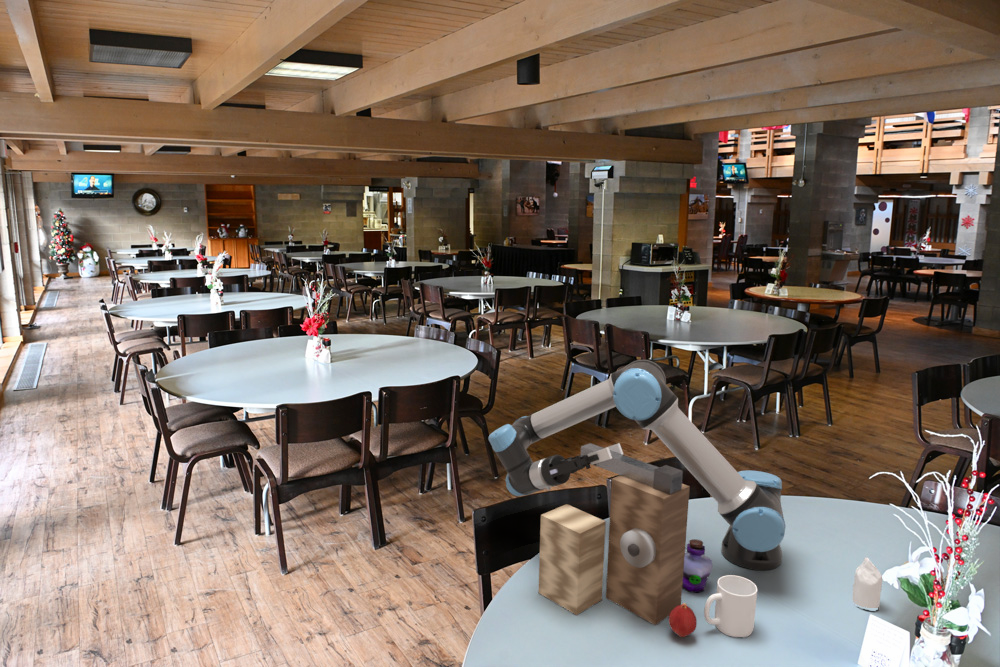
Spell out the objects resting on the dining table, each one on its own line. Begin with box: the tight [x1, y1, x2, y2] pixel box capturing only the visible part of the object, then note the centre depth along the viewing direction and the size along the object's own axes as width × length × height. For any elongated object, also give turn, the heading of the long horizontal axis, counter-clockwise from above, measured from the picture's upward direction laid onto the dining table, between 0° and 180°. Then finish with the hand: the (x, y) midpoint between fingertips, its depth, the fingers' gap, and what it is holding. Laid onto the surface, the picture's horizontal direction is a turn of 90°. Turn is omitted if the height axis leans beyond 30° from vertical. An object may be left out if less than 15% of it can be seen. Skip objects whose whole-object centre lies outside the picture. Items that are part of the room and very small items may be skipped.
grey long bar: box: [580, 443, 684, 495], centre depth 157 cm, size 26×4×4 cm, turn 42°
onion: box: [668, 602, 697, 638], centre depth 146 cm, size 6×6×8 cm
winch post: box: [605, 475, 691, 626], centre depth 155 cm, size 14×13×30 cm
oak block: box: [538, 503, 607, 616], centre depth 159 cm, size 12×9×20 cm
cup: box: [703, 574, 758, 638], centre depth 149 cm, size 8×12×10 cm
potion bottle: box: [682, 539, 713, 594], centre depth 165 cm, size 9×9×12 cm
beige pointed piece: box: [851, 557, 883, 608], centre depth 159 cm, size 6×12×6 cm
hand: (614, 450), depth 160 cm, fingers closed on grey long bar, 3 cm apart
